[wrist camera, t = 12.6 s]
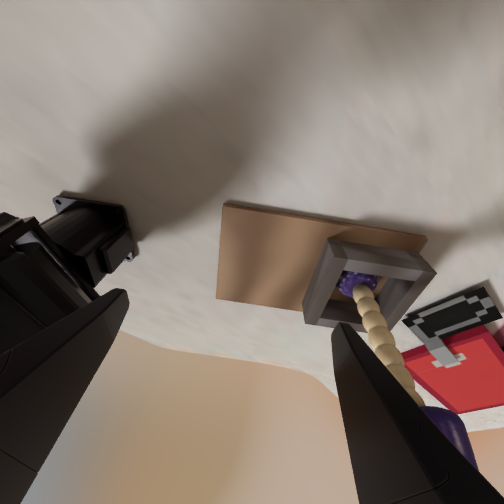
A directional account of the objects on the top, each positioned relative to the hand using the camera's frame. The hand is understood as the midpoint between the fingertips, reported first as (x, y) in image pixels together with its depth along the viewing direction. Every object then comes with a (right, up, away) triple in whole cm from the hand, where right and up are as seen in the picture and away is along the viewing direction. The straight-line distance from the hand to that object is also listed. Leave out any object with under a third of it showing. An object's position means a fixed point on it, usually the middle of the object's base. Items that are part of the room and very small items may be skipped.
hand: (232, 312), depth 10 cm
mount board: (+7, +1, +15) cm, 16 cm away
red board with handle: (+31, -12, +23) cm, 41 cm away
